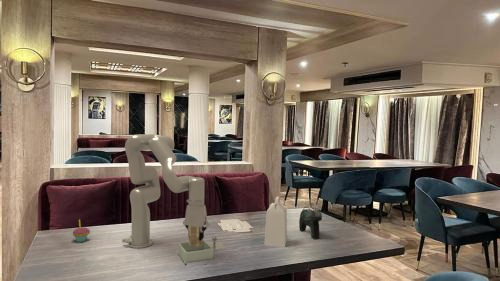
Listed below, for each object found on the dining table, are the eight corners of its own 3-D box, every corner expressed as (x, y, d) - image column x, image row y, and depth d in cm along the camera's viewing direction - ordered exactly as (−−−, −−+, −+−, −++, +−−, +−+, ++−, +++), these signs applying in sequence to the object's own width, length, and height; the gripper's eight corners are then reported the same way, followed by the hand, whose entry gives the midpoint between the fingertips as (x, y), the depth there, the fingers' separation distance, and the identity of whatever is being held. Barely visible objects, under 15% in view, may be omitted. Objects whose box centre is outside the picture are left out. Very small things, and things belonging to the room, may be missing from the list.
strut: (198, 246, 163) (198, 224, 163) (189, 245, 165) (189, 223, 165) (202, 243, 168) (203, 222, 168) (193, 242, 170) (194, 221, 169)
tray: (243, 220, 238) (243, 214, 238) (256, 234, 212) (256, 228, 211) (214, 222, 231) (215, 216, 231) (225, 236, 205) (225, 230, 205)
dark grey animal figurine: (322, 239, 199) (323, 206, 199) (312, 240, 197) (314, 207, 196) (304, 229, 218) (305, 199, 217) (296, 230, 216) (297, 199, 215)
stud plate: (208, 253, 173) (208, 240, 173) (202, 246, 182) (202, 235, 182) (226, 250, 178) (226, 238, 177) (219, 244, 187) (219, 232, 186)
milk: (284, 247, 185) (286, 200, 184) (264, 245, 188) (265, 199, 186) (286, 240, 197) (288, 196, 196) (267, 238, 199) (268, 194, 198)
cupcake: (69, 241, 185) (69, 219, 184) (83, 236, 192) (83, 216, 192) (79, 244, 181) (79, 222, 180) (93, 239, 188) (93, 218, 188)
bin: (185, 265, 158) (185, 252, 157) (177, 254, 170) (178, 243, 170) (213, 260, 164) (213, 248, 164) (204, 250, 176) (204, 239, 176)
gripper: (177, 202, 165) (177, 239, 166) (208, 206, 159) (208, 243, 160) (185, 199, 172) (184, 234, 173) (215, 202, 167) (214, 238, 167)
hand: (196, 238), depth 166 cm, fingers closed on strut, 5 cm apart
